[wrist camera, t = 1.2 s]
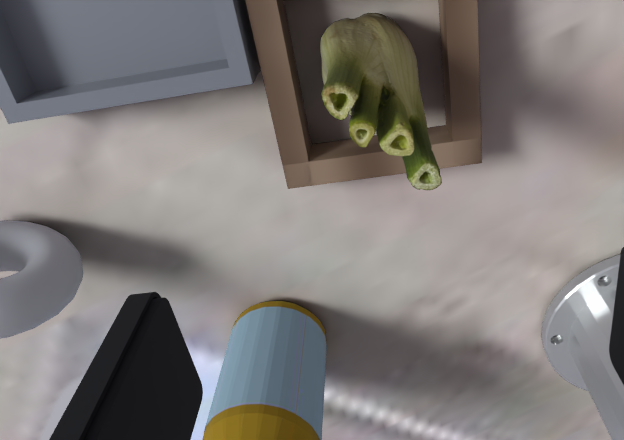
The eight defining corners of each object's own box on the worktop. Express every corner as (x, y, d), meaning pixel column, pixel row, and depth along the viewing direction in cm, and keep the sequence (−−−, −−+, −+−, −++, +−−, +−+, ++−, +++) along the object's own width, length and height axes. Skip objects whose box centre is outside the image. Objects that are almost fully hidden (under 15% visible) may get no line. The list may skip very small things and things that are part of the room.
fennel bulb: (425, 91, 31) (463, 189, 21) (344, 121, 32) (341, 227, 22) (394, -11, 28) (418, 42, 18) (306, 25, 29) (283, 95, 19)
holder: (465, -83, 26) (475, -81, 24) (473, 145, 32) (481, 162, 30) (246, -40, 28) (237, -34, 26) (292, 170, 34) (287, 188, 32)
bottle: (260, 280, 38) (214, 473, 26) (344, 321, 40) (341, 523, 27) (219, 342, 42) (159, 540, 29) (298, 378, 43) (276, 582, 30)
